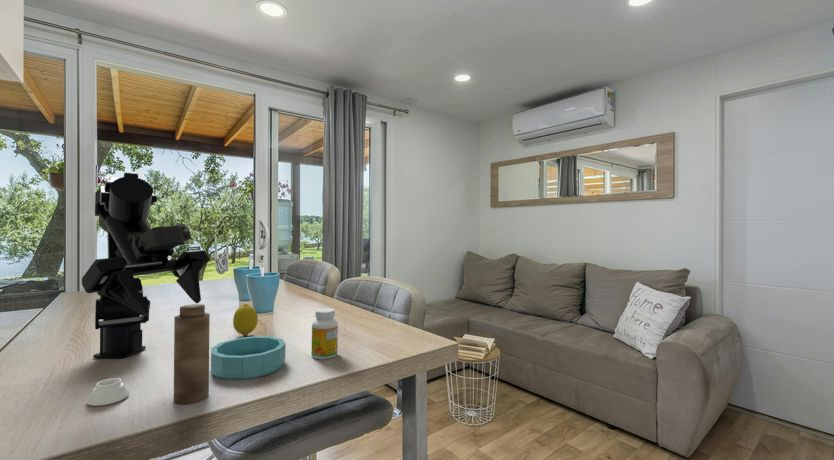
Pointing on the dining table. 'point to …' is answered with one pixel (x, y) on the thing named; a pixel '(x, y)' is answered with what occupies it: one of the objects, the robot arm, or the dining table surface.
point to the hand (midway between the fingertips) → (174, 307)
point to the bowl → (247, 357)
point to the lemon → (245, 319)
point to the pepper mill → (191, 354)
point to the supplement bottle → (324, 334)
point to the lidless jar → (108, 392)
